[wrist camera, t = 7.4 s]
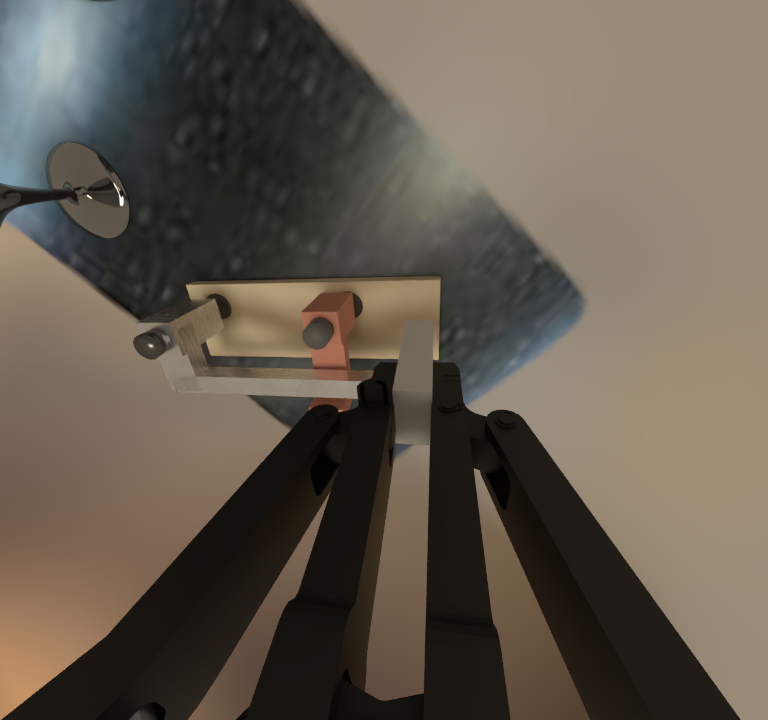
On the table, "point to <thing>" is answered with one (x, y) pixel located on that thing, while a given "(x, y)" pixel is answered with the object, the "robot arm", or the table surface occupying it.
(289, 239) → the table surface
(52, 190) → the wine glass
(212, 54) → the table surface
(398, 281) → the bolt plate
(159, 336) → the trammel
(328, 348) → the slide leg
